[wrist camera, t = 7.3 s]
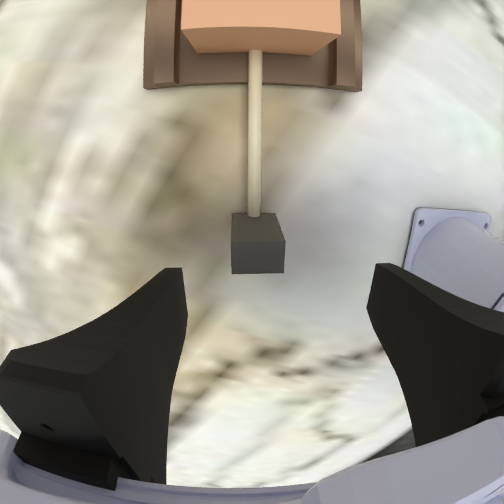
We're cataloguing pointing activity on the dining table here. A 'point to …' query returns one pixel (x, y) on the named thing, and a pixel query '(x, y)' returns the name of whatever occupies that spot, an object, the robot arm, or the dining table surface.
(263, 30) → the tan piece
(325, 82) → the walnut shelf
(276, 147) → the dining table surface
